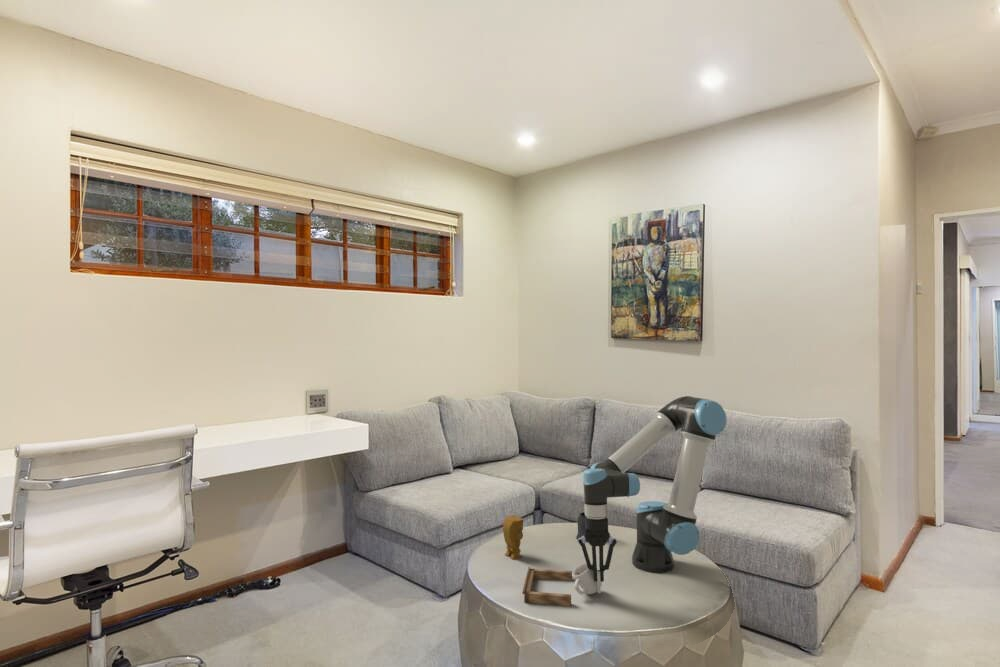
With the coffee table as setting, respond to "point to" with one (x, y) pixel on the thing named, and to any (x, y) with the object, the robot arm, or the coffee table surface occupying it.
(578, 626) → the coffee table surface
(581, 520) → the mug
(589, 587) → the cup
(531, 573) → the brown wooden open frame
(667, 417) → the robot arm
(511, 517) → the figurine
